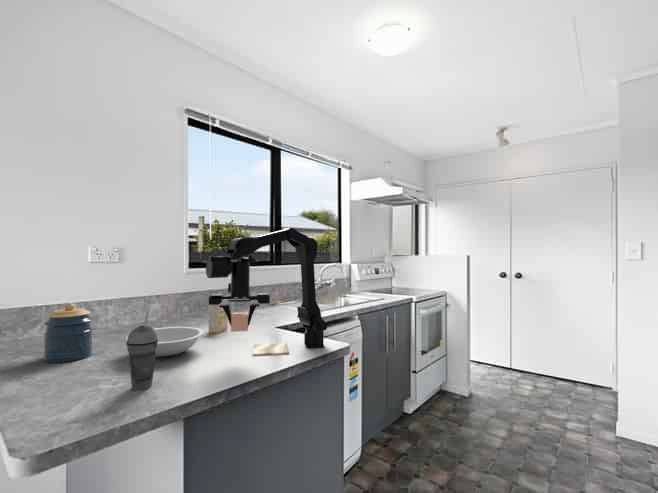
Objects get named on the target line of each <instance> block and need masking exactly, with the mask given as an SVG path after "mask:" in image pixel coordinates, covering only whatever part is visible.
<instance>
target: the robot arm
mask: <svg viewBox="0 0 658 493" xmlns="http://www.w3.org/2000/svg"><path fill="white" fill-rule="evenodd" d="M285 241H287V242H288V244H289V245H290V246H291V247H294V249H295V252H296V257H297V259H298V260H299V263H300V271H301V272H300V275H301V276H300V277H301V294H302V302H301V305H300V306H297V307H296V308H297V318H298V320H299V322H300V323H301V326H302V328H303V329H305V332H304V333H303V343H304V345H305V347H306V349H316V348H325V344H324V339H325V338H324V334H325V331H327V329H328V323H327V322H326V321H325V320H324V319H323V318H322V312H321V308H320V307H319V305H318V303H317V298H316V295H317V293H316V279H315V275H316V274H315V260H316V259H317V256H318V251H319V244H318V241H316V239H315V238H313V237H309V236H307V235H306V234H304V233H301V232H299V231H298V230H297V229H295V228H293V227H286V228H283V229H281V230H277V231H274V232H269V233H267V234H266V233H265V234H262V235H258V236H253V237H252V236H251V237H235V238H233V239H232V240H231V241H230V242H229V246H228V249H227V250H226V251H225V253H224V254H223V256H216V255H209V256H208V259H207V262H206V266H205V273H206V274H205V275H206V278H208V279H221V278H222V279H223V278H224V279H225V278H228V277H229V276H231V279H230V283H228V286H227V287H228V288H227V293H228V294H230V295H225V294H224V293H212V294H211V295H209V297H208V306H209V305H219V304H220V306H219V307H222V308H223V309H224V311H225V313H226V315H227V321H228V322H229V326H230V327H231V315H232V303H231V302H234V303H236V302H237V303H239V302H240V303H241V302H250V303H249V304H250V305H249V309H248V310H249V311H248V327H249V326H250V324H251V320H252V317H253V315H254V312H255V310H256V308H257V307H260V306H261V305H264V304H266V305H267V304H271V295H270V293H269V292H257V295H251V287H250V280H251V279H250V277H251V276H250V270H251V269H250V264H251V263H253V264H255V263H257V259H255V258H253V255H250V254H252V253H255V252H257V251H258V250H260V249H261V248H264V247H267V246H271V245H274V244H278V243H281V242H285ZM245 256H246V257H245Z"/></svg>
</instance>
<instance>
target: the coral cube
mask: <svg viewBox="0 0 658 493" xmlns="http://www.w3.org/2000/svg"><path fill="white" fill-rule="evenodd" d="M231 314H232V315H231V326H230V329H231V330H230V332H235V333H237V332H248V331H249V326H248V316H249V311H248V312H247V311H246V312H231Z"/></svg>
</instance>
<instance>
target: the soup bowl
mask: <svg viewBox="0 0 658 493" xmlns="http://www.w3.org/2000/svg"><path fill="white" fill-rule="evenodd" d="M153 329H154V330H155V332H156V334H157V338H158V342H157V348H156V352H155V357H171V356H174V355H178V354H181V353H184V352H186V351H188V350H189V349H191V348H192V347H193V346H194V345H195V344H196V343H197V341H198V340H199V338H200V337H203V335H204V334H205V332H204V330H203V329H201V328H197V327H191V326H189V327H188V326H170V327H167V326H166V327H159V328H157V327H156V328H153ZM128 336H129V335H127V336H126V337H125V342H126V343H127V338H128Z"/></svg>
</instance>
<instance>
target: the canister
mask: <svg viewBox="0 0 658 493" xmlns="http://www.w3.org/2000/svg"><path fill="white" fill-rule="evenodd" d="M90 314H91V311H89V310H87V309H86V308H84V307H75V304H74V303H72V302H68V303H66V304H65V305H64V308H61V309H55V310H53V311H52V312H50V313H49V314H47V315H46V316H47V318H48V319H47V320H45V321H44V322H43V325H44V326H45V331H44V332H43V335H44V337H43V340H44V342H43V354H42V357H43V360H44V362H45V363H46V362H47V363H68V362H72V361H77V360H78V361H79V360H82V359H85V358H88V357H90V356H91V355H92V352H93V348H94V347H93V330H94V328H93V327H92V322H93V321H94V318H93V317H92V316H90Z"/></svg>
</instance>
